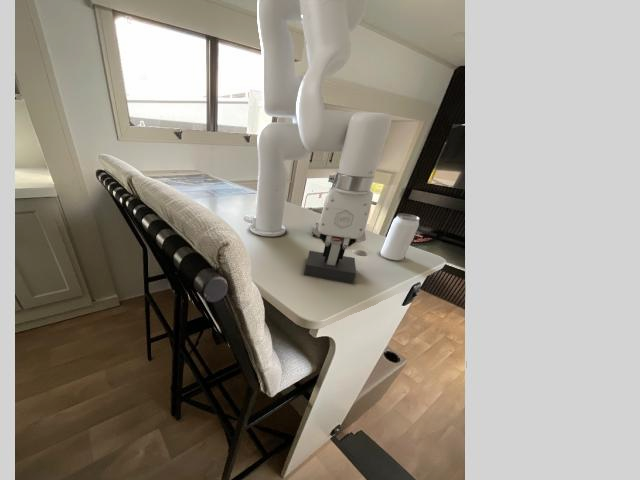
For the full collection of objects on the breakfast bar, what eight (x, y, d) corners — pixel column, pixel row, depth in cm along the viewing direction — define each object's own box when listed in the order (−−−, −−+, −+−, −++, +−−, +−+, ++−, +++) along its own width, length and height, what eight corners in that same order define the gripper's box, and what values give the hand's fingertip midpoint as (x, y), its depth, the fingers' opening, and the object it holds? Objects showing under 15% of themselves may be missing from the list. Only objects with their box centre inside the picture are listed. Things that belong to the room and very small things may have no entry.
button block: (312, 236, 87) (315, 224, 85) (314, 228, 93) (317, 217, 91) (343, 240, 85) (346, 229, 82) (342, 232, 91) (345, 221, 89)
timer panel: (303, 274, 65) (306, 264, 63) (307, 260, 72) (309, 250, 70) (352, 283, 62) (356, 273, 60) (351, 267, 69) (354, 257, 67)
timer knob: (335, 265, 63) (340, 246, 60) (326, 264, 63) (332, 245, 60) (335, 257, 67) (340, 238, 64) (327, 256, 67) (332, 237, 64)
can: (406, 262, 73) (425, 221, 66) (382, 259, 74) (399, 219, 67) (399, 253, 78) (416, 214, 71) (377, 250, 79) (392, 212, 72)
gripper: (313, 182, 53) (298, 260, 64) (396, 191, 49) (365, 272, 60) (316, 176, 59) (302, 249, 70) (390, 184, 55) (363, 259, 66)
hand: (331, 259), depth 65 cm, fingers closed on timer knob, 2 cm apart
